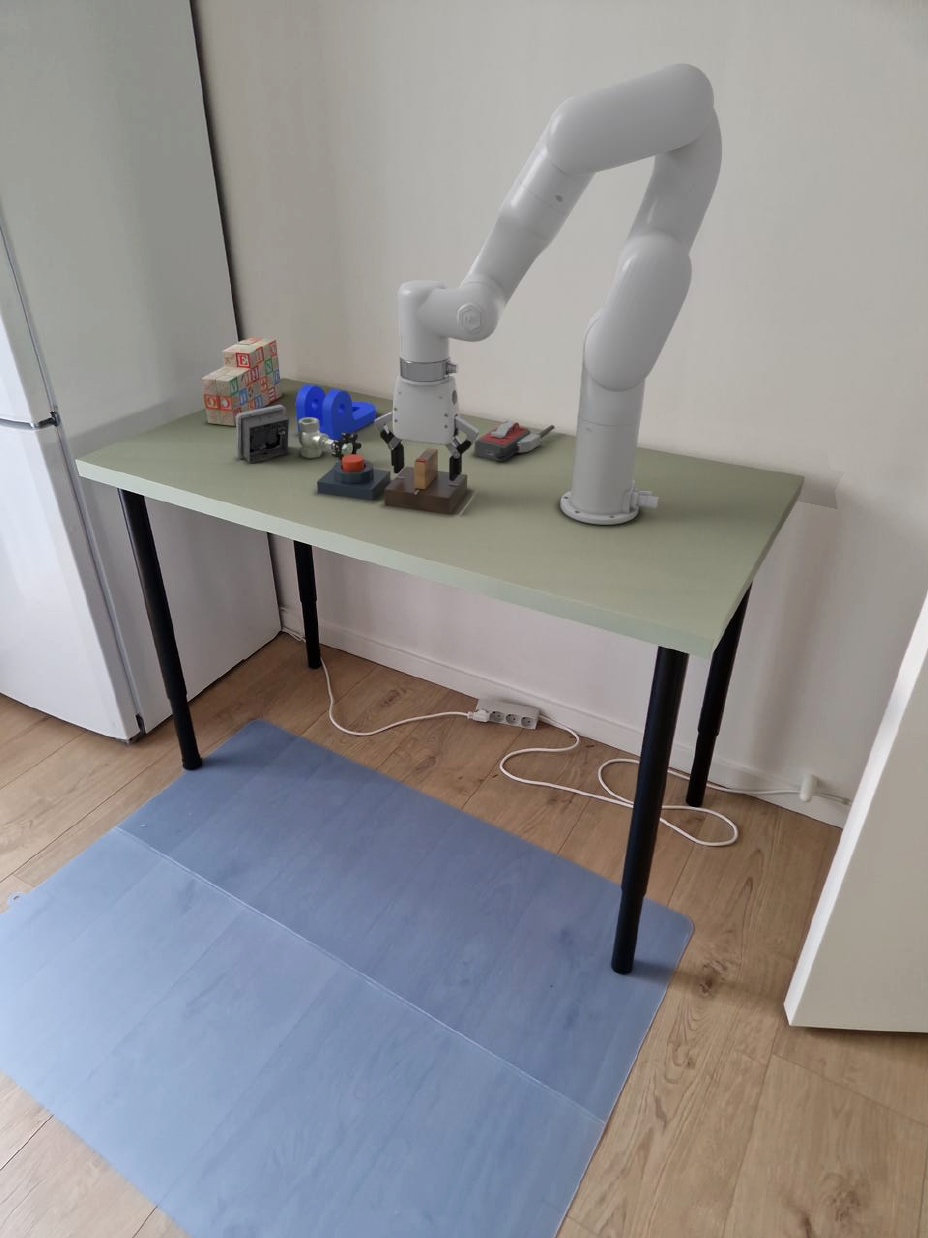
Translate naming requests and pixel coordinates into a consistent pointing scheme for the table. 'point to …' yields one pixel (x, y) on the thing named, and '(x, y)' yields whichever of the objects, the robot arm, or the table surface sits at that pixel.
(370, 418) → the bracket
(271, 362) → the stack of blocks
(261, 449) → the electrical switch
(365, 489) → the button box
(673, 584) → the table surface
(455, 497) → the handle panel
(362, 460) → the red button
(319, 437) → the valve
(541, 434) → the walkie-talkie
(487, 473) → the table surface
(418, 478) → the oak handle
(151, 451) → the table surface
